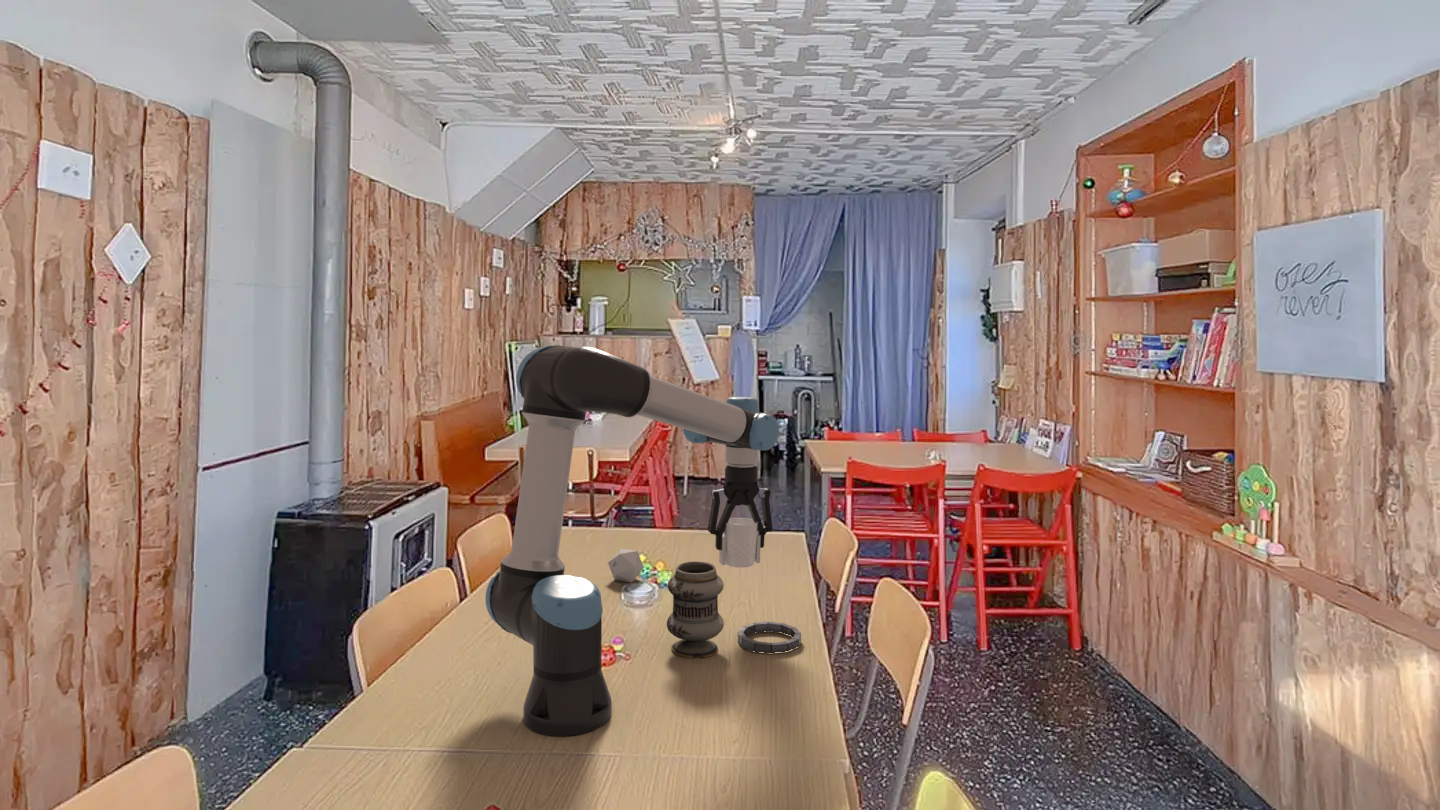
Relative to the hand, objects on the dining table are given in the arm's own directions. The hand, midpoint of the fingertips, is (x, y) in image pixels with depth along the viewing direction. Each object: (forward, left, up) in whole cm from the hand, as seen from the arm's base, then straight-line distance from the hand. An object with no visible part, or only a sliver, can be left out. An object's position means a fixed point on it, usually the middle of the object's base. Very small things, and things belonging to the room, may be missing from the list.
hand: (739, 562), depth 184 cm
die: (+38, +21, -14) cm, 46 cm away
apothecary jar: (-13, +14, -14) cm, 24 cm away
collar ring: (-13, -3, -14) cm, 20 cm away
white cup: (0, 0, -1) cm, 1 cm away
